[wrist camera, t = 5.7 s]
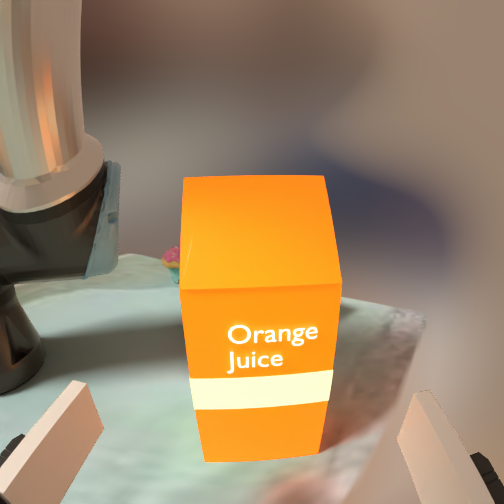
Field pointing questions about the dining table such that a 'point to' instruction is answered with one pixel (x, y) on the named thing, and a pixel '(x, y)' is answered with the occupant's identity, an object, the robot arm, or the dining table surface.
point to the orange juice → (259, 312)
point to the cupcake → (173, 262)
